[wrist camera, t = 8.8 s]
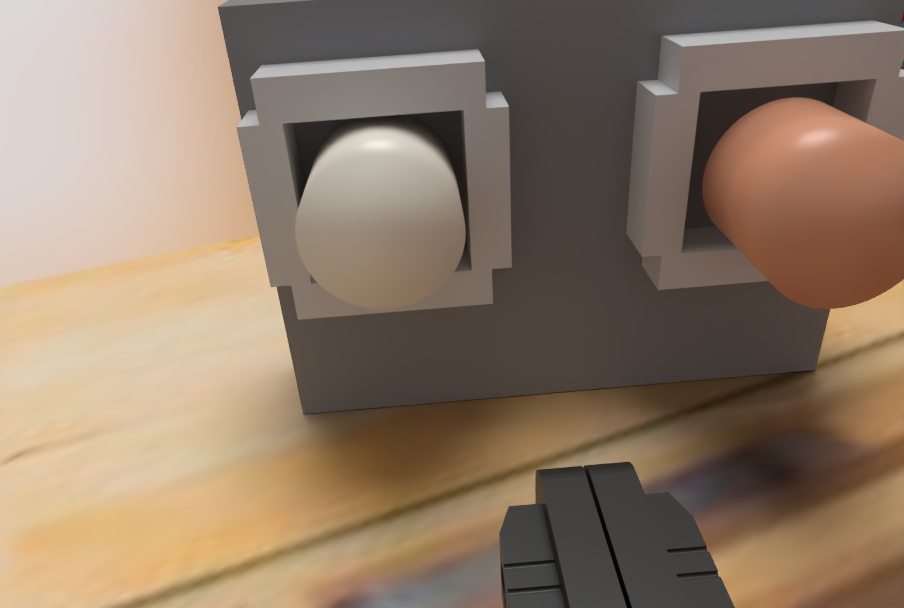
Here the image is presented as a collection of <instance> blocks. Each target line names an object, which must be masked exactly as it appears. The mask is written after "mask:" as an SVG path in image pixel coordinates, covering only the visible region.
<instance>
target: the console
mask: <svg viewBox="0 0 904 608" xmlns="http://www.w3.org/2000/svg"><path fill="white" fill-rule="evenodd" d="M218 10H219V15H220V20H221V25H222V29H223V34H224V39H225V44H226V48H227V53H228V58H229V63H230V67H231V72H232V77H233V82H234V86H235V91H236V96H237V100H238V105H239V110H240V115H241V122H240V123H239V124H238V126H237V132H238V137H239V141H240V146H241V150H242V155H243V160H244V164H245V169H246V174H247V178H248V182H249V188H250V192H251V197H252V202H253V206H254V211H255V215H256V220H257V225H258V229H259V234H260V239H261V243H262V248H263V253H264V257H265V262H266V267H267V271H268V276H269V280H270V285H271V287H277V291H278V295H279V300H280V305H281V309H282V314H283V319H284V324H285V328H286V333H287V338H288V343H289V347H290V352H291V357H292V362H293V366H294V371H295V376H296V381H297V385H298V390H299V395H300V400H301V404H302V409H303V414H310V413H322V412H333V411H345V410H356V409H368V408H380V407H391V406H403V405H415V404H426V403H438V402H450V401H461V400H473V399H484V398H496V397H508V396H519V395H531V394H543V393H554V392H566V391H578V390H589V389H601V388H613V387H624V386H636V385H647V384H659V383H671V382H682V381H694V380H706V379H717V378H729V377H741V376H752V375H764V374H775V373H787V372H799V371H810V370H815V368H816V364H817V360H818V356H819V352H820V348H821V344H822V340H823V336H824V332H825V328H826V324H827V320H828V316H829V312H830V309H820V308H812V307H807V306H803V305H801V304H798V303H795V302H793V301H792V300H790V299H788V298H786V297H785V296H784V295H783V294H782V293H780V292H779V291H778V290H777V289H776V288H775V287H774V286H773V285H772V284H771V283H770V282H769V281H768V279H767V278H766V277H765V276H764V275H763V274H762V273H761V272H760V271H759V270H758V269H757V268H756V267H755V266H754V265H753V264H752V263H751V262H750V261H749V260H748V259H747V258H746V257H745V256H744V255H743V254H742V253H741V252H740V251H739V250H738V248H737V247H736V246H735V245H734V244H733V243H732V242H731V241H730V240H729V239H728V238H727V237H726V236H725V235H724V234H723V233H722V232H721V231H720V230H719V229H718V228H717V227H716V225H715V224H714V223H713V222H712V221H711V219H710V217H709V216H708V214H707V211H706V209H705V206H704V201H703V195H702V182H703V176H704V171H705V167H706V164H707V161H708V159H709V157H710V155H711V153H712V151H713V149H714V147H715V146H716V144H717V142H718V141H719V140H720V138H721V137H722V136H723V135H724V133H725V132H726V131H727V130H728V129H729V128H730V127H731V126H732V125H733V124H734V123H735V122H736V121H738V120H739V119H740V118H741V117H743V116H744V115H746V114H747V113H749V112H750V111H752V110H754V109H756V108H757V107H759V106H761V105H764V104H766V103H769V102H772V101H775V100H779V99H784V98H791V97H803V98H811V99H815V100H818V101H821V102H823V103H825V104H827V105H829V106H832V107H834V108H836V109H838V110H840V111H842V112H844V113H846V114H848V115H850V116H853V117H855V118H857V119H859V120H861V121H863V122H865V123H867V124H869V125H871V126H873V127H876V128H878V129H880V130H882V131H884V132H886V133H888V134H890V135H892V136H894V137H896V138H899V139H901V140H903V138H904V70H903V69H901V66H902V62H903V58H904V28H901V27H900V25H901V21H902V16H903V12H904V0H229V1H227V2H226V3H224V4H222V5H220V6H219V7H218ZM391 115H407V116H410V117H412V118H415V119H416V120H418V121H420V122H422V123H423V124H425V125H426V126H427V127H429V128H430V129H431V130H432V131H433V132H434V133H435V134H436V135H438V137H439V138H440V139H441V140H442V142H443V143H444V145H445V146H446V148H447V150H448V152H449V154H450V156H451V159H452V162H453V165H454V169H455V174H456V180H457V185H458V190H459V195H460V200H461V205H462V210H463V215H464V220H465V228H466V236H465V245H464V250H463V254H462V257H461V260H460V262H459V264H458V266H457V268H456V270H455V271H454V273H453V274H452V276H451V277H450V278H449V279H448V281H447V282H446V283H445V284H444V285H443V286H442V287H441V288H440V289H438V290H437V291H436V292H434V293H433V294H432V295H430V296H429V297H427V298H425V299H423V300H421V301H419V302H416V303H414V304H411V305H408V306H404V307H400V308H393V309H371V308H365V307H360V306H356V305H353V304H350V303H347V302H345V301H343V300H341V299H339V298H337V297H335V296H334V295H332V294H330V293H329V292H328V291H326V290H325V289H324V288H323V287H321V286H320V285H319V284H318V283H317V282H316V281H315V280H314V278H313V277H312V276H311V275H310V273H309V272H308V270H307V269H306V267H305V265H304V264H303V262H302V259H301V257H300V255H299V252H298V248H297V244H296V237H295V221H296V215H297V211H298V208H299V205H300V202H301V199H302V196H303V193H304V190H305V187H306V184H307V181H308V178H309V175H310V172H311V169H312V166H313V163H314V160H315V157H316V154H317V152H318V150H319V148H320V146H321V144H322V143H323V141H324V140H325V138H326V137H327V136H328V135H329V134H330V133H331V132H332V130H334V129H335V128H336V127H337V126H338V125H340V124H341V123H343V122H345V121H346V120H348V119H351V118H364V117H377V116H391Z"/></svg>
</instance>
